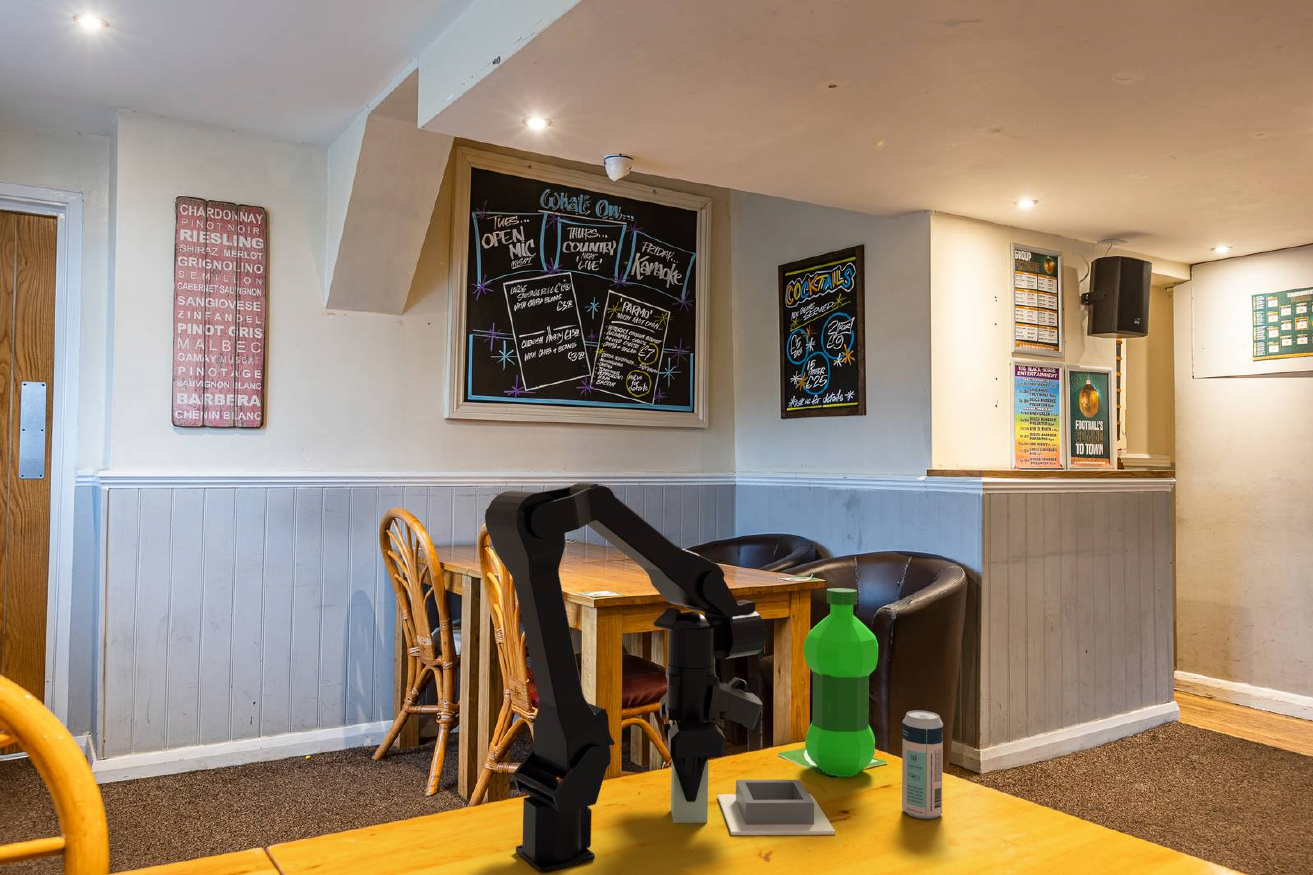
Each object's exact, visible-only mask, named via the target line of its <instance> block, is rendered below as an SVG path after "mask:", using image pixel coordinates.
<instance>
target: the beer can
mask: <svg viewBox="0 0 1313 875" xmlns="http://www.w3.org/2000/svg"><path fill="white" fill-rule="evenodd" d="M943 728H944V723H943V721H942V719H941V717H940V714H937V713H935V712H934V711H933V712H932V711H928V710H910V711H909V710H908V711H907V712H906V714H905V717H904V719H902V747H901V748H902V751H901V752H902V753H901V754H902V757H901V758H902V759H901V760H902V764H901V765H902V766H901V767H902V768H901V769H902V772H901V774H902V775H901V777H902V779H901V782H902V783H901V790H902V791H901V809H902V810H903V811H904V812H905V813H906V814H907V815H909V816H910V817H913V818H914V819H919V820H933V819H936V818H938V817H939V816H941V815H942V814H943V765H944V764H943V758H944V757H943V756H944V755H943V754H944V753H943V752H944V751H943V748H944V747H943V745H944V744H943V743H944V742H943V741H944V740H943V739H944V734H943V733H944V729H943Z"/></svg>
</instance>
